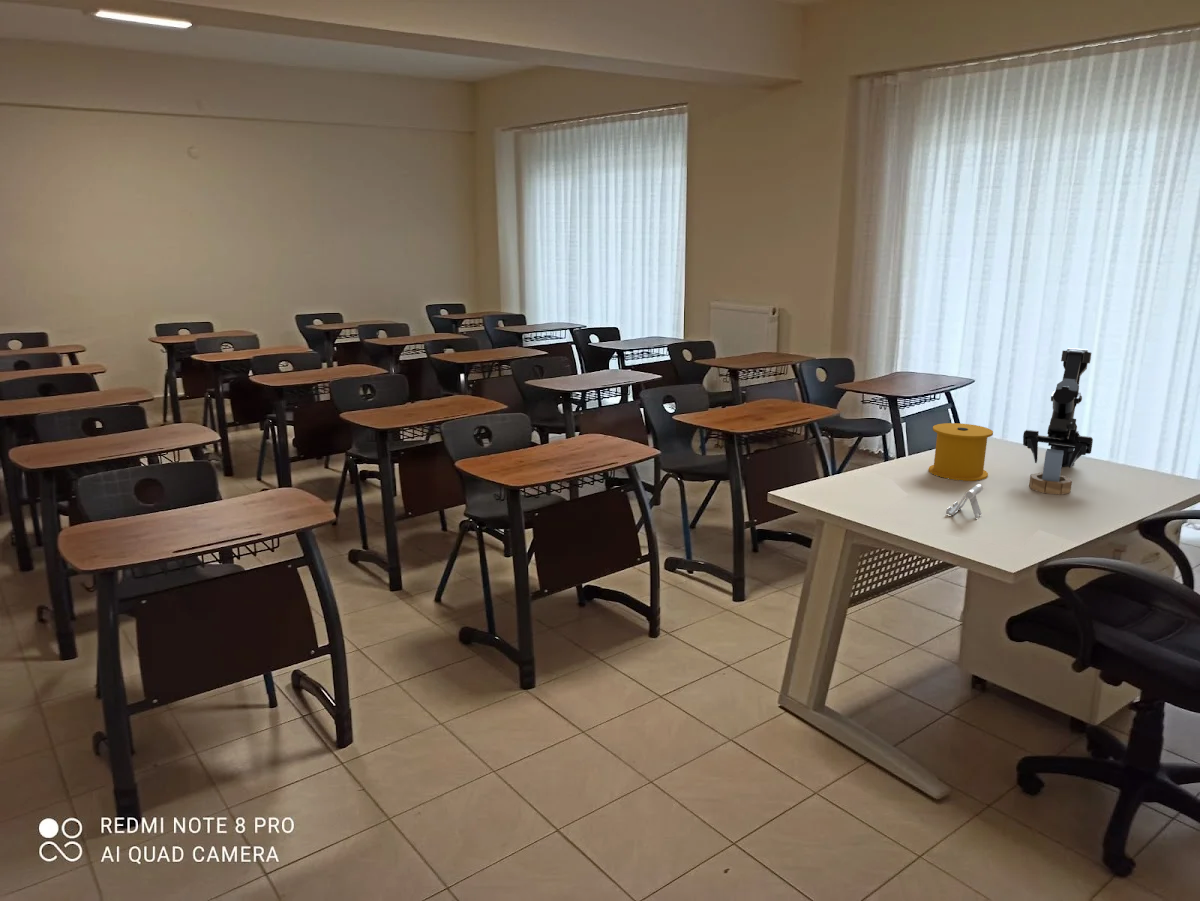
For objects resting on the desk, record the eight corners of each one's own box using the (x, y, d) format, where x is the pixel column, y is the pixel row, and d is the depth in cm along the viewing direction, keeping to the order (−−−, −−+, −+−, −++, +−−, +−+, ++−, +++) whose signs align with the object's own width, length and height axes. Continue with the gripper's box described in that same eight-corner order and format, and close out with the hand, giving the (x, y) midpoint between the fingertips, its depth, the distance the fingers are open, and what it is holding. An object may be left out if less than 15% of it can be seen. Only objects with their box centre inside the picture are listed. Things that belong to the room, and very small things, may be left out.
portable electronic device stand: (955, 508, 242) (958, 480, 240) (984, 514, 237) (987, 485, 235) (945, 516, 236) (948, 487, 234) (974, 522, 231) (978, 492, 229)
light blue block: (1042, 485, 263) (1047, 448, 259) (1058, 488, 260) (1063, 450, 257) (1040, 489, 259) (1045, 451, 256) (1057, 491, 257) (1062, 453, 253)
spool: (997, 481, 267) (1003, 435, 264) (940, 481, 268) (945, 435, 264) (974, 465, 285) (979, 422, 281) (920, 465, 285) (924, 422, 281)
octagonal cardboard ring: (1022, 486, 262) (1023, 475, 261) (1045, 481, 267) (1046, 471, 266) (1054, 496, 253) (1055, 484, 252) (1077, 491, 257) (1078, 480, 256)
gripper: (1027, 404, 261) (1018, 446, 255) (1097, 411, 252) (1089, 455, 245) (1027, 424, 270) (1018, 465, 264) (1094, 431, 260) (1087, 474, 254)
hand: (1052, 464), depth 256 cm, fingers open, 9 cm apart
